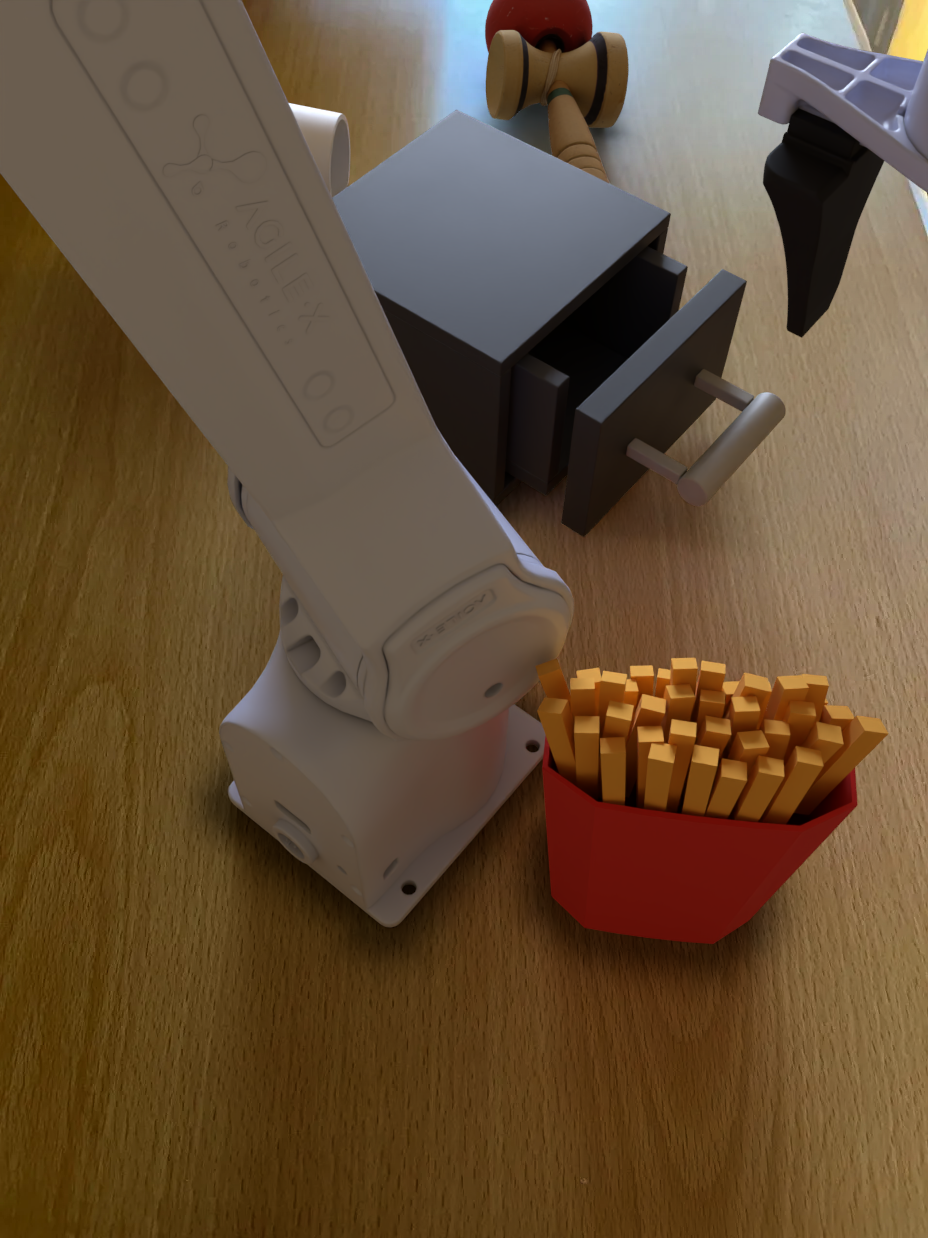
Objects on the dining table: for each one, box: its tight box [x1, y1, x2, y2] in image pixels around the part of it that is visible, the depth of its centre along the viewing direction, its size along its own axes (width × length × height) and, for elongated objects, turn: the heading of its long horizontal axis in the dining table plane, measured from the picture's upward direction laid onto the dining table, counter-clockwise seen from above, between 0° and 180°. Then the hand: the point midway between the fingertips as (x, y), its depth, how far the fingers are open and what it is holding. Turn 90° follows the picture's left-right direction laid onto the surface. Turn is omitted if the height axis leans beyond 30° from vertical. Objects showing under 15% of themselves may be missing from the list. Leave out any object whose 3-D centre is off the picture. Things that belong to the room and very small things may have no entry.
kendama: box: [484, 0, 630, 184], centre depth 63 cm, size 8×6×18 cm
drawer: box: [505, 246, 787, 538], centre depth 49 cm, size 14×10×7 cm
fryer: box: [332, 109, 672, 507], centre depth 51 cm, size 11×11×8 cm
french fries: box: [535, 657, 889, 945], centre depth 35 cm, size 9×4×13 cm, turn 83°
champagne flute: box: [288, 102, 351, 198], centre depth 59 cm, size 7×7×24 cm
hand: (902, 366), depth 42 cm, fingers open, 7 cm apart
